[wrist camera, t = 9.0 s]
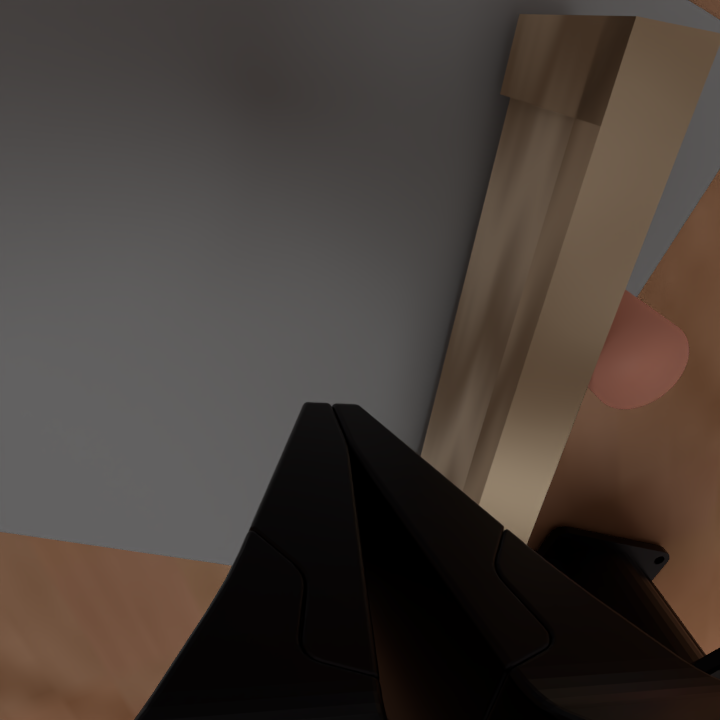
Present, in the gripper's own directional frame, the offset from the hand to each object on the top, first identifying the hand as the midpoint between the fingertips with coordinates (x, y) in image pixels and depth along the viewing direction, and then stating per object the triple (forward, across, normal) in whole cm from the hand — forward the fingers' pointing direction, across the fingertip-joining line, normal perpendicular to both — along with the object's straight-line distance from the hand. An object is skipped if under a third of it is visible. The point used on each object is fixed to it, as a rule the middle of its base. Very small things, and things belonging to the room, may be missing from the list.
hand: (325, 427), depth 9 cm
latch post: (+10, -8, 0) cm, 13 cm away
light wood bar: (+8, -6, +2) cm, 10 cm away
